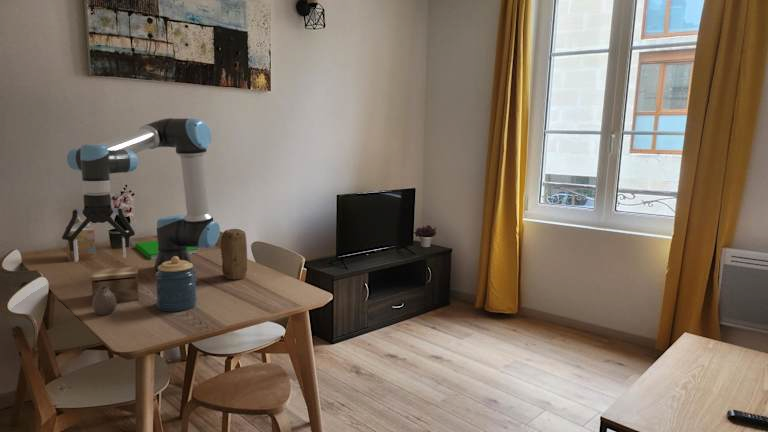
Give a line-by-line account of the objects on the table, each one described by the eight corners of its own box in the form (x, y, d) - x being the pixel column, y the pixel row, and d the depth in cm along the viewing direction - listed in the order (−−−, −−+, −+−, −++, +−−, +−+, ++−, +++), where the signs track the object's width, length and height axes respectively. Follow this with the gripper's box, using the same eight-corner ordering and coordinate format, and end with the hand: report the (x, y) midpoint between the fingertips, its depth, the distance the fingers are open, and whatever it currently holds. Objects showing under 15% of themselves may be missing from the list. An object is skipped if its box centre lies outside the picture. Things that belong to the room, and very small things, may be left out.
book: (181, 243, 269) (180, 238, 268) (198, 254, 247) (198, 248, 247) (135, 248, 255) (135, 243, 255) (149, 260, 233) (149, 254, 233)
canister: (156, 314, 166) (154, 262, 163) (156, 301, 178) (154, 253, 175) (198, 309, 171) (196, 259, 168) (196, 298, 183) (194, 250, 180)
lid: (137, 268, 188) (137, 265, 188) (137, 276, 178) (137, 273, 177) (93, 272, 182) (93, 269, 182) (90, 280, 171) (90, 277, 171)
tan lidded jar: (96, 259, 231) (93, 218, 228) (69, 262, 226) (66, 220, 222) (94, 254, 240) (91, 215, 237) (68, 257, 234) (64, 216, 231)
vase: (100, 318, 161) (98, 292, 160) (88, 314, 165) (86, 288, 163) (121, 312, 167) (119, 287, 166) (109, 308, 171) (107, 283, 169)
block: (249, 278, 209) (248, 230, 206) (233, 281, 204) (232, 233, 200) (235, 272, 216) (234, 227, 213) (219, 276, 211) (217, 229, 207)
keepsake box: (138, 290, 190) (137, 269, 188) (138, 300, 179) (137, 278, 178) (95, 294, 184) (94, 273, 182) (93, 305, 173) (91, 282, 172)
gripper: (140, 191, 168) (143, 253, 172) (51, 193, 157) (57, 259, 161) (140, 193, 162) (143, 258, 165) (48, 196, 151) (53, 265, 154)
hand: (101, 258), depth 163 cm, fingers open, 13 cm apart
